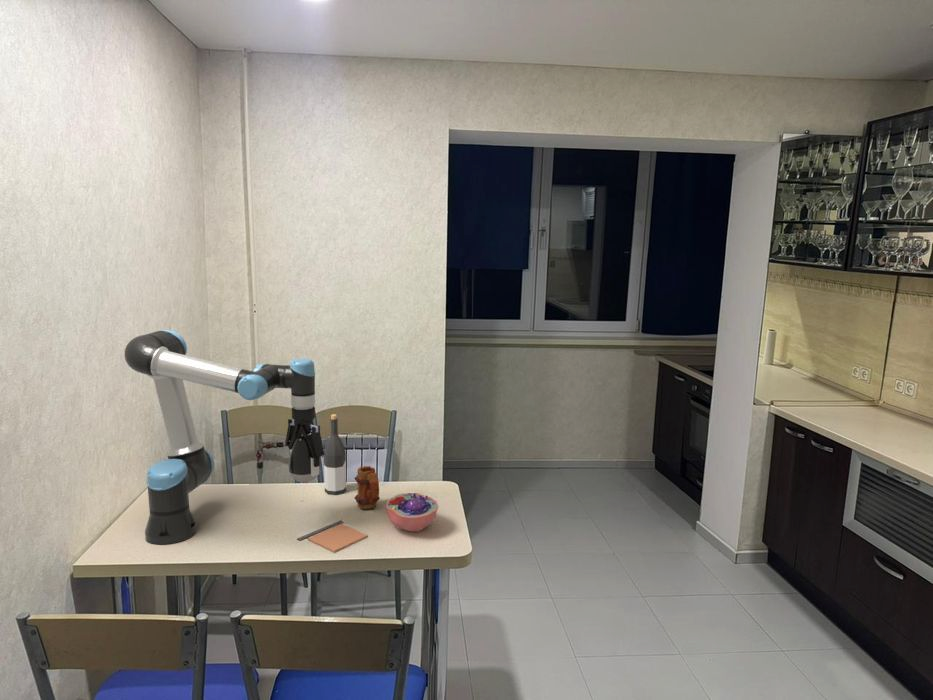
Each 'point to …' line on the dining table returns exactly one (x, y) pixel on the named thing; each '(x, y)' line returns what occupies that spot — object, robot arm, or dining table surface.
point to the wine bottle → (334, 462)
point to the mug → (367, 487)
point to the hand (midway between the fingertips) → (304, 471)
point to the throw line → (320, 530)
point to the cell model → (411, 511)
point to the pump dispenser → (301, 461)
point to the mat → (337, 538)
